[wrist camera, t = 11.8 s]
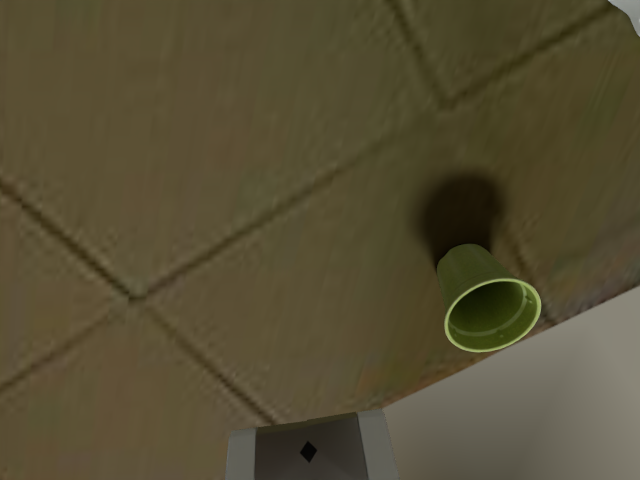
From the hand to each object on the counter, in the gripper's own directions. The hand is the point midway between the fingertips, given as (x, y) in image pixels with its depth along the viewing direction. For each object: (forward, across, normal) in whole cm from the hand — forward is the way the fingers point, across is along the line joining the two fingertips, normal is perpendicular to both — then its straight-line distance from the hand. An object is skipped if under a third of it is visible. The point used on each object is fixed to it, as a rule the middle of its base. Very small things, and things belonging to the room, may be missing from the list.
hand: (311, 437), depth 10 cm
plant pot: (+37, -16, +25) cm, 48 cm away
